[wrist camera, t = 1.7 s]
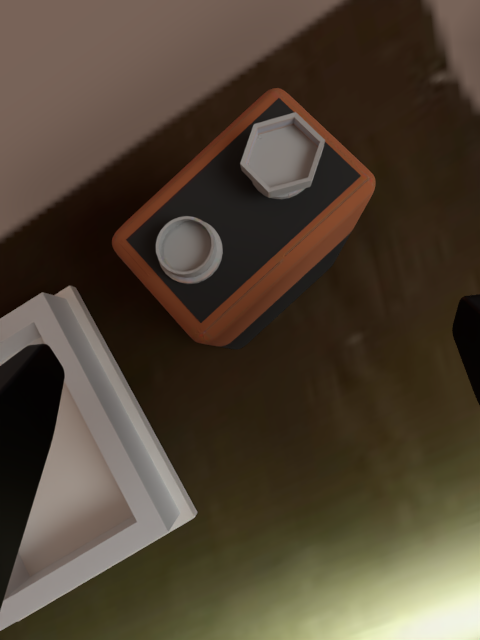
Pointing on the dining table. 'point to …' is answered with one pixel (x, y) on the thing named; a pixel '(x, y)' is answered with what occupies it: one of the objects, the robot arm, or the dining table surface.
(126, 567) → the dining table surface
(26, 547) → the tray
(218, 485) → the dining table surface
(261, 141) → the battery
